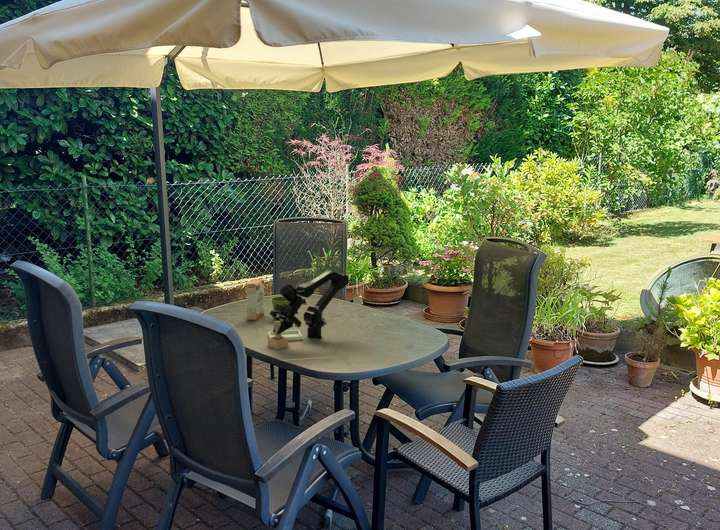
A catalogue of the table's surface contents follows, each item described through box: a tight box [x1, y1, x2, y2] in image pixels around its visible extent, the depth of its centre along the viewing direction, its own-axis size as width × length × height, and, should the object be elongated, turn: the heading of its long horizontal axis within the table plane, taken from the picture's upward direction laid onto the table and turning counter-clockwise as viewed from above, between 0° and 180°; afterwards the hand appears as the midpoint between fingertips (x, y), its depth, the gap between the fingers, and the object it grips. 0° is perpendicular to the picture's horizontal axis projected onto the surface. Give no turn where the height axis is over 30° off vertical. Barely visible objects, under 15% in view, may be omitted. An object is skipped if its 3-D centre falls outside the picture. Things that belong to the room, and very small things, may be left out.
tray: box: [267, 329, 304, 342], centre depth 310 cm, size 16×12×2 cm
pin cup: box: [267, 336, 289, 350], centre depth 297 cm, size 7×7×4 cm
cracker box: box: [246, 278, 265, 321], centre depth 348 cm, size 14×6×21 cm, turn 171°
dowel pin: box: [274, 320, 281, 340], centre depth 296 cm, size 3×3×12 cm
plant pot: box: [270, 296, 290, 315], centre depth 348 cm, size 12×12×11 cm
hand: (275, 333), depth 295 cm, fingers closed on dowel pin, 3 cm apart
